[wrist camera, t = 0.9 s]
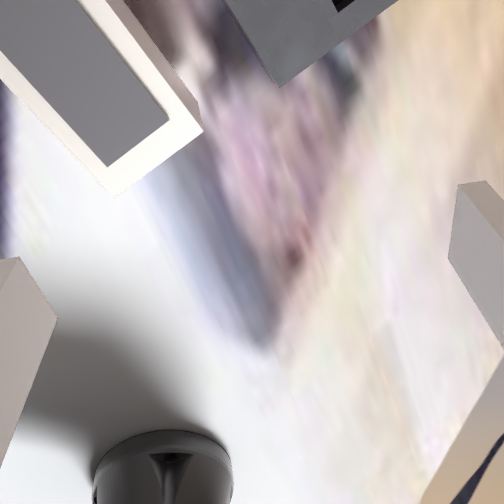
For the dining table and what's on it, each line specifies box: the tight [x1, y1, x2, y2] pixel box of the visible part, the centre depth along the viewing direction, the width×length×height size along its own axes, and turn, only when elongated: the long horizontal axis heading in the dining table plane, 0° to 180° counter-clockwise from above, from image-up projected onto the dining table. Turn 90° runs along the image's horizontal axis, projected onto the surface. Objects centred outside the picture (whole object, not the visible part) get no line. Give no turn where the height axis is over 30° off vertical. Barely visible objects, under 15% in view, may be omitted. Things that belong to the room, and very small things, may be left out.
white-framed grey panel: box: [0, 0, 204, 198], centre depth 24 cm, size 6×15×10 cm, turn 34°
